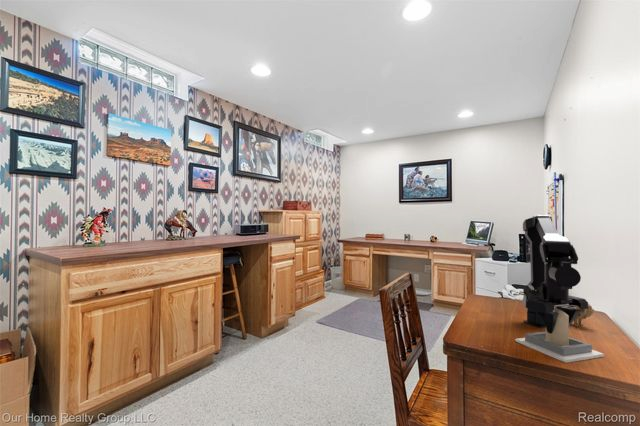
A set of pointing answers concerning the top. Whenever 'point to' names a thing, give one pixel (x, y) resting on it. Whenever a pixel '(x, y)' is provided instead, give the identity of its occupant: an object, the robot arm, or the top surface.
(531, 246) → the robot arm
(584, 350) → the candle tray
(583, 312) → the lion figurine
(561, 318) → the candle
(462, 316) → the top surface
